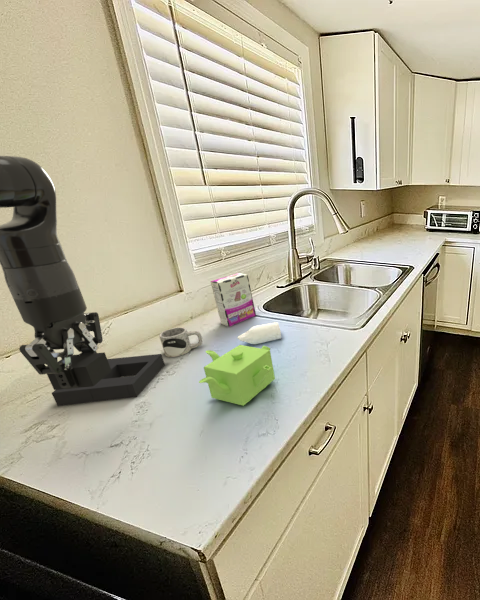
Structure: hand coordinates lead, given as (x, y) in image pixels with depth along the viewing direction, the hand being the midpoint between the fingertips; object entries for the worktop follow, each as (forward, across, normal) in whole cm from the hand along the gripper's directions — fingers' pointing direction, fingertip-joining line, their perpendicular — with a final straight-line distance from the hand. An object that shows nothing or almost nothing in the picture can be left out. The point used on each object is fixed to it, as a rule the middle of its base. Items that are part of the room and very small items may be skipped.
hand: (83, 378), depth 59 cm
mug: (+15, -36, 0) cm, 39 cm away
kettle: (+15, -11, +22) cm, 29 cm away
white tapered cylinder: (+15, -37, +21) cm, 45 cm away
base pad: (+15, -21, -10) cm, 28 cm away
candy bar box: (+15, -56, +9) cm, 59 cm away
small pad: (0, 0, 0) cm, 0 cm away
